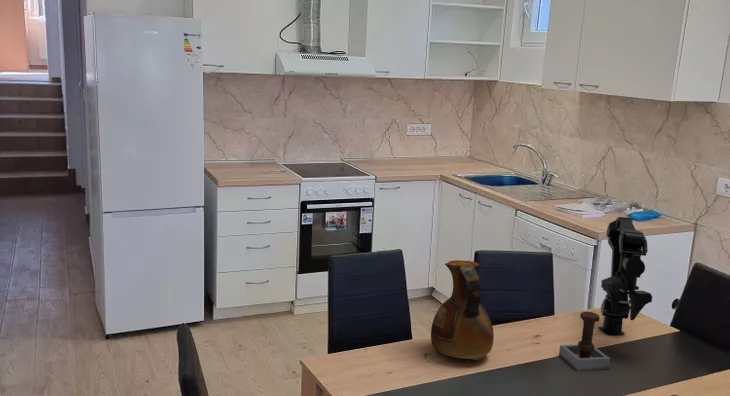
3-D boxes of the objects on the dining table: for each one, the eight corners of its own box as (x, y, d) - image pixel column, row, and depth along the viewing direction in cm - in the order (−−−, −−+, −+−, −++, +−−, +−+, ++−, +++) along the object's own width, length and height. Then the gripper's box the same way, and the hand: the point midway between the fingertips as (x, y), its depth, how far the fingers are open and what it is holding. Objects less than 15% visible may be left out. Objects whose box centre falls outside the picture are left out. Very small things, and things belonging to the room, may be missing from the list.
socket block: (558, 355, 210) (560, 345, 210) (589, 353, 213) (590, 343, 212) (577, 370, 200) (578, 360, 199) (608, 369, 202) (610, 358, 202)
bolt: (595, 359, 207) (601, 314, 204) (591, 364, 203) (597, 318, 200) (577, 354, 210) (582, 309, 207) (573, 359, 206) (578, 314, 203)
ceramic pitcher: (473, 338, 220) (481, 253, 214) (503, 364, 201) (513, 271, 195) (419, 343, 214) (426, 255, 208) (446, 370, 195) (454, 274, 189)
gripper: (590, 262, 220) (584, 307, 222) (626, 276, 202) (619, 325, 204) (618, 263, 223) (613, 307, 225) (656, 276, 205) (650, 324, 207)
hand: (622, 315), depth 215 cm, fingers open, 9 cm apart
